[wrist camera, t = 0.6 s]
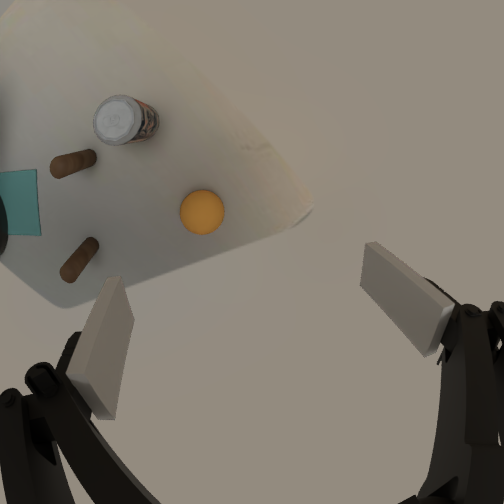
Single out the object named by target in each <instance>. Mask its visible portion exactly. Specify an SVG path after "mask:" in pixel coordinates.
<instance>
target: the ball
mask: <svg viewBox="0 0 504 504" xmlns="http://www.w3.org/2000/svg"><path fill="white" fill-rule="evenodd" d="M180 218H181V221H182V223H183V225H184V226H185V227H186V228H187V229H188V230H189V231H190V232H192V233H195V234H199V235H205V234H209V233H211V232H213V231H215V230H216V229H217V228H218V227H219V226H220V225H221V223H222V221H223V218H224V206H223V203H222V201H221V200H220V198H219V197H218V196H217V195H216V194H214V193H212V192H210V191H207V190H198V191H195V192H192V193H190V194H189V195H188V196H187V197H186V198H185V199H184V200H183V202H182V204H181V207H180Z"/></svg>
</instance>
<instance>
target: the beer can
mask: <svg viewBox="0 0 504 504" xmlns="http://www.w3.org/2000/svg"><path fill="white" fill-rule="evenodd" d="M158 125H159V118H158V114H157V112H156V111H155V110H154V109H153V108H152V107H151V106H149V105H147V104H144V103H142V102H140V101H138V100H136V99H134V98H131V97H129V96H126V95H115V96H112V97H110V98H108V99H106V100H105V101H104V102H102V103H101V105H100V106H99V107H98V109H97V111H96V113H95V115H94V119H93V126H94V131H95V133H96V135H97V137H98V138H99V139H100V140H101V141H102V142H104V143H106V144H108V145H114V146H115V145H123V144H128V143H133V142H139V141H144V140H147V139H149V138H150V137H151V136H153V135H154V133H155V132H156V130H157V128H158Z"/></svg>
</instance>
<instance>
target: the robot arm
mask: <svg viewBox="0 0 504 504" xmlns="http://www.w3.org/2000/svg"><path fill="white" fill-rule="evenodd" d="M7 238H8V220H7V214H6V210H5V206H4V203H3V200H2V198H1V196H0V255H1V254H2V253H3V251H4V249H5V246H6V243H7ZM360 286H361V287H362V288H363V289H364V290H365V291H366V292H367V294H368V295H369V296H370V297H371V298H372V299H373V300H374V301H375V302H376V303H377V304H378V306H380V308H381V309H382V310H383V311H384V312H385V313H386V314H387V315H388V317H389V318H390V319H392V321H393V322H394V323H395V324H396V325H397V326H398V328H399V329H400V330H401V331H402V332H403V333H404V334H405V336H406V337H407V338H408V339H409V340H410V341H411V343H412V344H413V345H414V346H415V347H416V348H417V349H418V351H419V352H420V353H421V354H422V355H423V357H427V356H429V355H432V354H434V353H436V351H437V349H438V346H439V344H440V342H441V343H442V344H443V345H444V348H443V351H442V353H441V355H440V357H439V359H438V361H437V365H439V363H440V361H441V360H442V372H441V390H440V403H439V413H438V421H437V428H436V436H435V442H434V448H433V453H432V458H431V464H430V468H429V472H428V476H427V478H426V480H425V482H424V484H423V485H422V487H421V489H420V491H419V493H418V496H417V497H416V495H413V496H411V497H410V498H408V499H406V500H404V501H402V502H400V503H398V504H503V502H504V302H499V301H495V302H493V303H492V305H491V308H490V310H489V311H481V310H480V309H479V308H478V307H476V306H475V305H472V304H464V305H460V304H459V303H458V302H457V301H456V300H455V299H453V298H452V297H451V296H450V295H449V294H447V293H446V292H444V290H442V289H441V288H439V286H438V285H436V284H435V283H434V282H433V281H431V280H429V279H427V278H424V277H422V276H421V275H419V274H418V273H417V272H416V271H414V270H413V269H412V268H411V267H409V266H408V265H407V264H405V263H404V262H403V261H401V260H400V259H399V258H397V257H396V256H395V255H394V254H392V253H391V252H389V251H388V250H387V249H385V248H384V247H383V246H381V245H380V244H379V243H377V242H371V243H366V244H365V250H364V259H363V267H362V274H361V282H360ZM133 324H134V317H133V314H132V311H131V308H130V305H129V302H128V299H127V295H126V292H125V289H124V285H123V282H122V279H121V276H117V277H109V278H107V279H106V281H105V283H104V285H103V287H102V289H101V292H100V294H99V296H98V298H97V300H96V302H95V304H94V306H93V309H92V311H91V313H90V315H89V317H88V319H87V322H86V324H85V326H84V329H83V331H81V332H75V333H74V334H73V335H72V336H71V337H70V338H69V339H68V341H67V343H66V345H65V349H64V350H63V352H62V356H61V357H60V359H59V362H58V364H57V367H56V369H54V368H53V366H52V365H51V364H50V363H47V362H40V363H37V364H35V365H34V366H32V367H31V368H30V369H29V370H28V371H27V373H26V375H25V384H26V385H27V386H28V388H29V389H30V390H31V392H32V393H33V394H30V395H26V396H22V394H21V393H20V392H19V391H18V390H17V389H15V388H10V389H7V390H5V391H4V392H3V393H2V394H1V395H0V466H1V474H2V480H3V486H4V491H5V496H6V501H7V504H75V502H74V499H73V496H72V494H71V491H70V488H69V485H68V482H67V479H66V476H65V472H64V469H63V466H62V462H61V459H60V455H59V451H58V447H57V444H58V446H59V447H60V449H61V451H62V453H63V455H64V457H65V458H66V460H67V462H68V464H69V465H70V467H71V469H72V470H73V472H74V473H75V475H76V477H77V478H78V480H79V481H80V483H81V485H82V486H83V488H84V489H85V490H86V492H87V493H88V495H89V496H90V497H91V499H92V500H93V502H94V503H95V504H161V503H160V502H159V501H158V500H157V499H156V498H155V497H154V496H153V495H152V494H151V493H150V492H149V491H148V490H147V489H146V488H145V487H144V486H143V485H142V484H141V483H140V482H139V480H138V479H137V478H136V477H135V476H134V475H133V474H132V473H131V471H130V470H129V469H128V468H127V467H126V466H125V464H124V463H123V462H122V461H121V460H120V458H119V457H118V456H117V455H116V453H115V452H114V451H113V450H112V448H111V447H110V446H109V445H108V443H107V442H106V440H105V439H104V438H103V437H102V435H101V434H100V432H99V431H98V429H97V428H96V427H95V425H94V424H93V422H92V421H91V420H90V418H91V413H92V412H93V414H94V415H95V416H96V417H97V419H98V420H99V419H100V420H115V415H116V409H117V403H118V397H119V391H120V385H121V380H122V374H123V369H124V364H125V359H126V355H127V350H128V346H129V341H130V337H131V332H132V328H133ZM500 339H501V341H502V346H501V348H500V349H498V347H497V345H498V343H499V341H500ZM498 432H499V436H500V442H501V446H500V445H499V443H498ZM56 442H57V443H56Z"/></svg>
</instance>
